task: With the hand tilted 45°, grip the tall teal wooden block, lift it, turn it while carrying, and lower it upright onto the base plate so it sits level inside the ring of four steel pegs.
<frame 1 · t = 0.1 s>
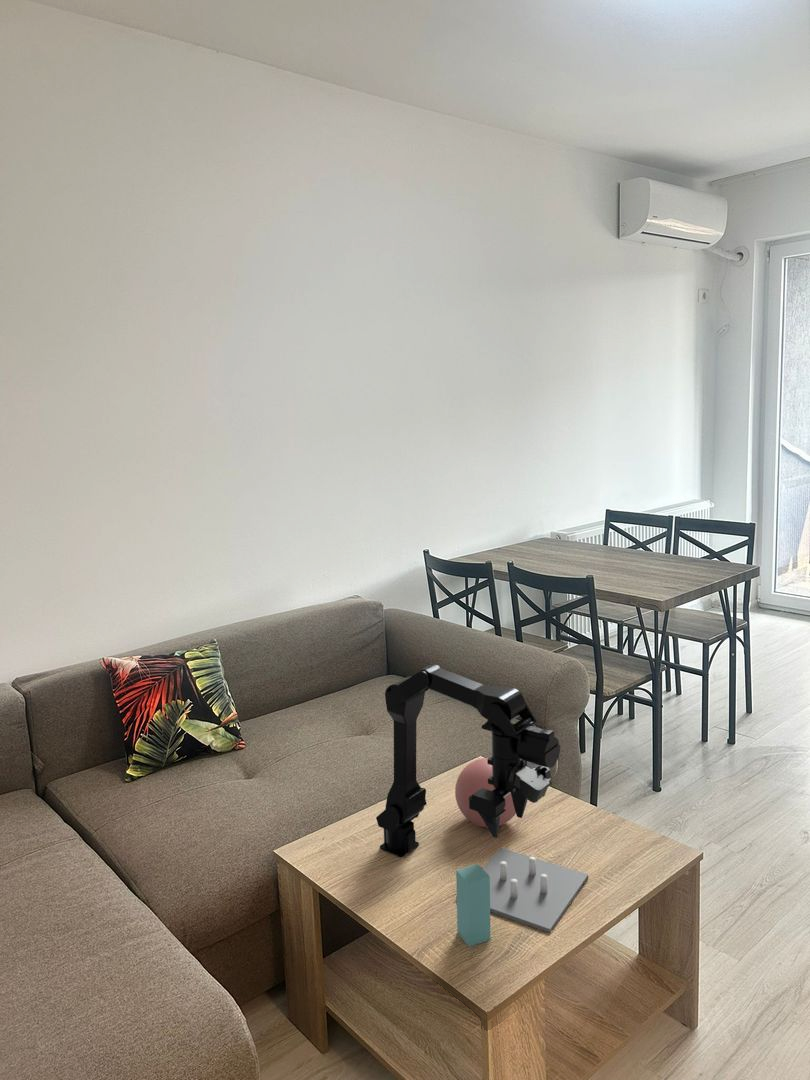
hand: (507, 827, 164), 15 cm above the table, tool pointing down, fingers open, 9 cm apart
balloon: (498, 822, 194), on the table
teal block: (473, 936, 154), on the table
peg plate: (523, 888, 168), on the table
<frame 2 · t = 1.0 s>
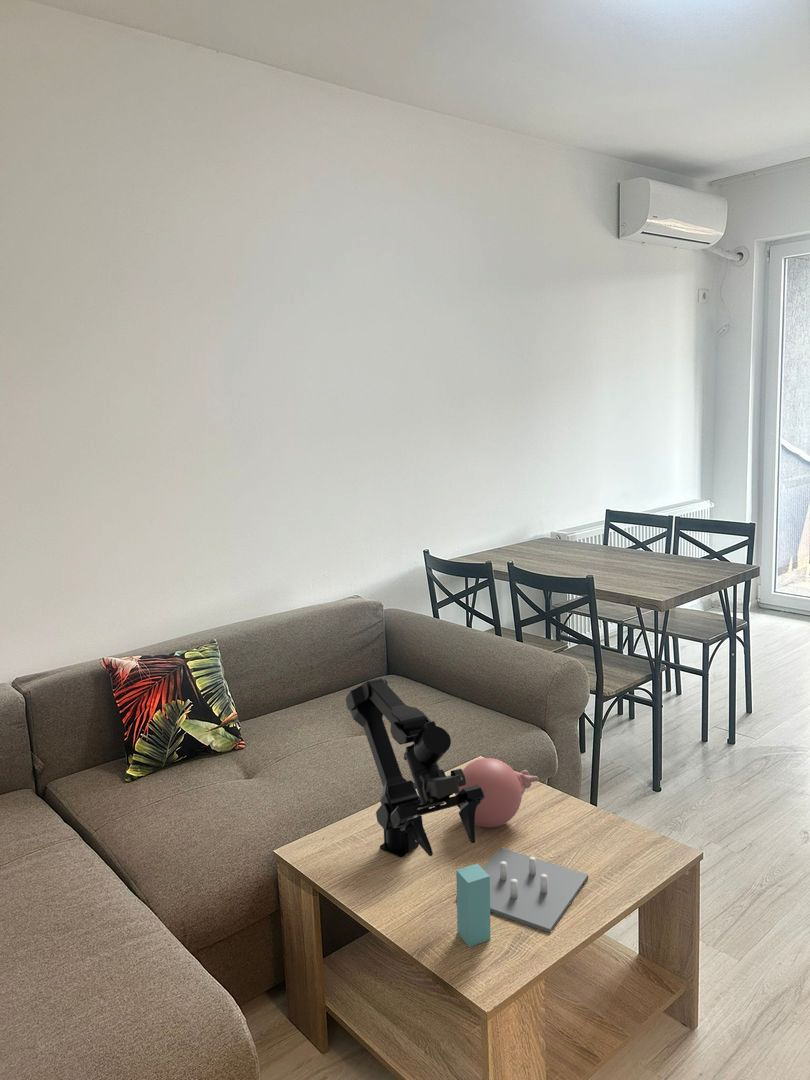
hand: (452, 849, 159), 13 cm above the table, tool tilted 45°, fingers open, 9 cm apart
nothing on the table moved.
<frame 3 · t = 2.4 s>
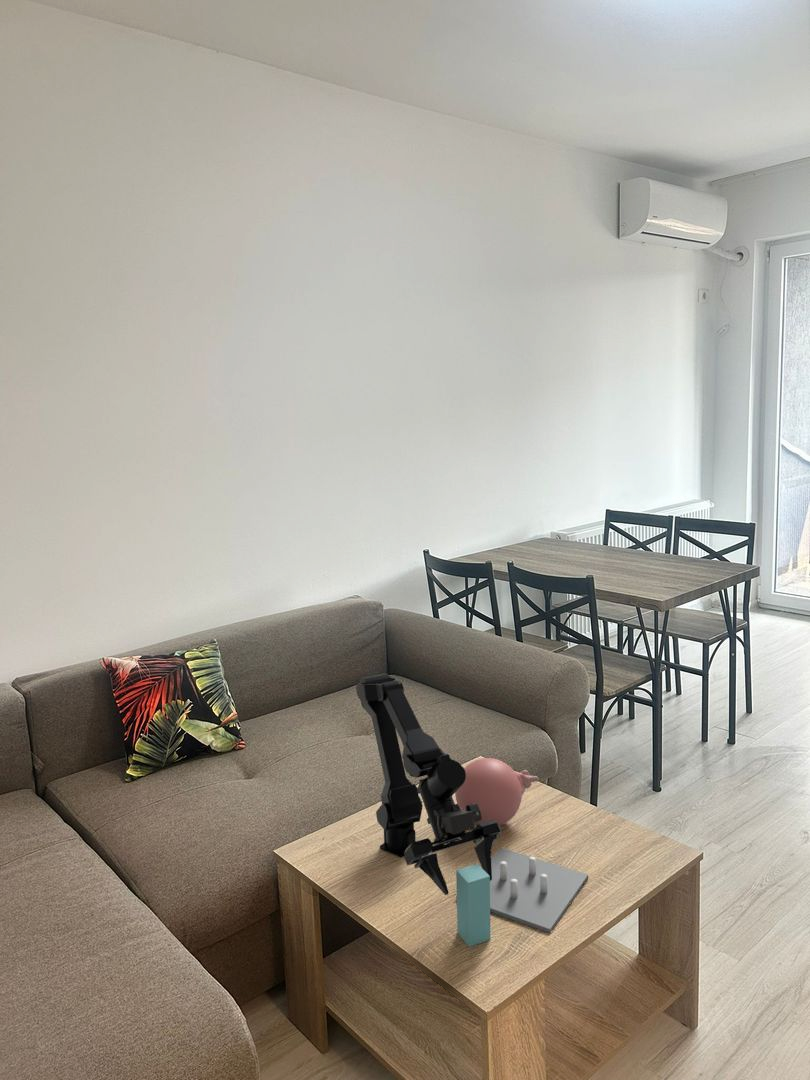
hand: (468, 887, 154), 9 cm above the table, tool tilted 45°, fingers open, 9 cm apart
nothing on the table moved.
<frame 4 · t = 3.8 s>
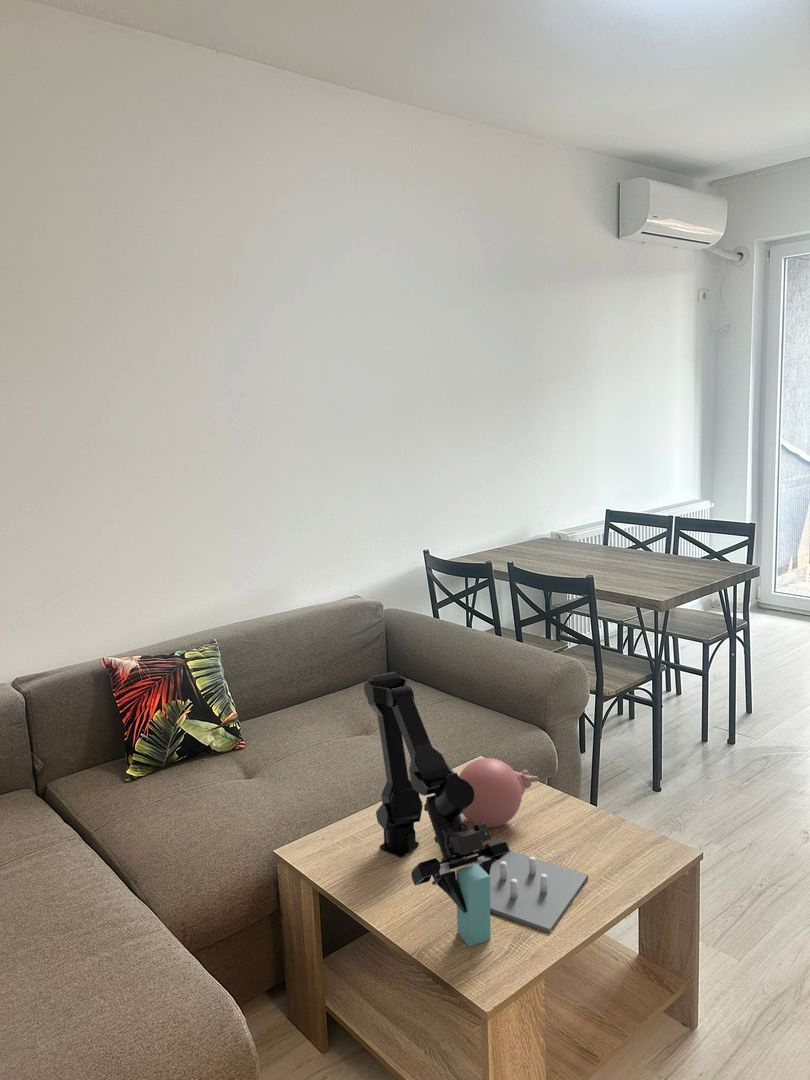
hand: (477, 908, 152), 7 cm above the table, tool tilted 45°, fingers closed on teal block, 4 cm apart
teal block: (473, 935, 154), on the table, touching gripper
everything else where it was.
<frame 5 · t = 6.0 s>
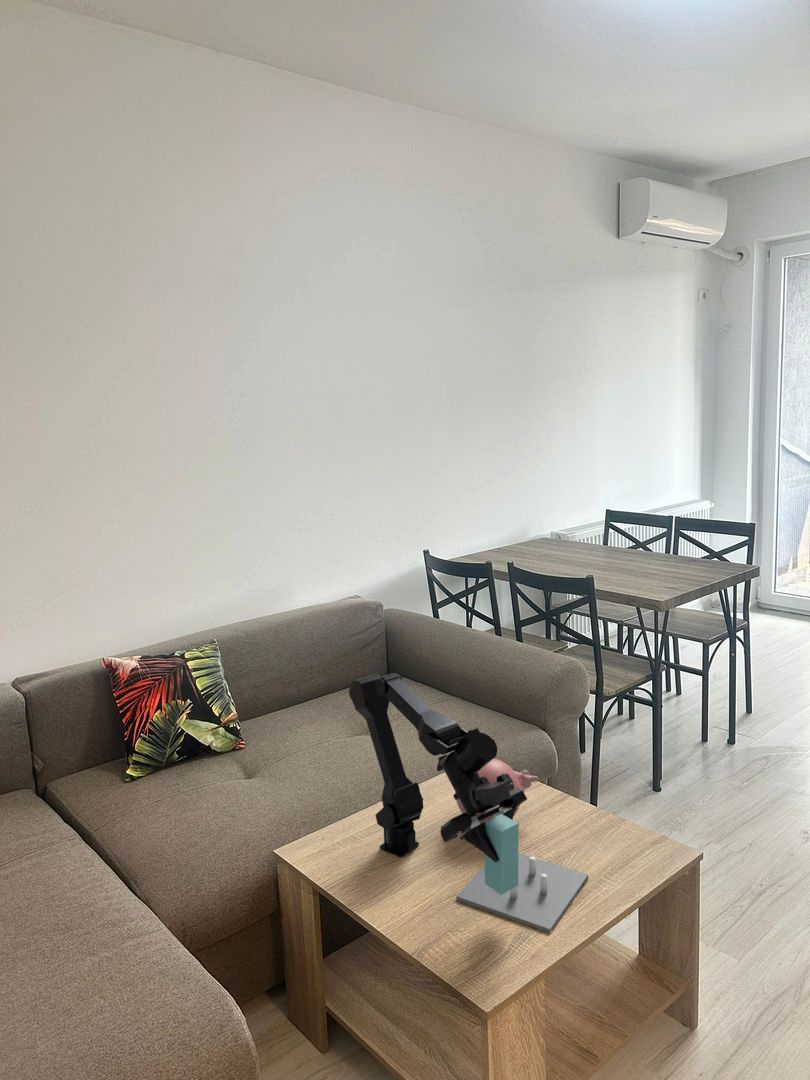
hand: (506, 856, 156), 13 cm above the table, tool tilted 45°, fingers closed on teal block, 4 cm apart
teal block: (501, 884, 158), point 7 cm above the table, touching gripper
everything else where it was.
when the fingers open (8 cm above the table, at t = 8.4 s): teal block drops 1 cm, resting on peg plate.
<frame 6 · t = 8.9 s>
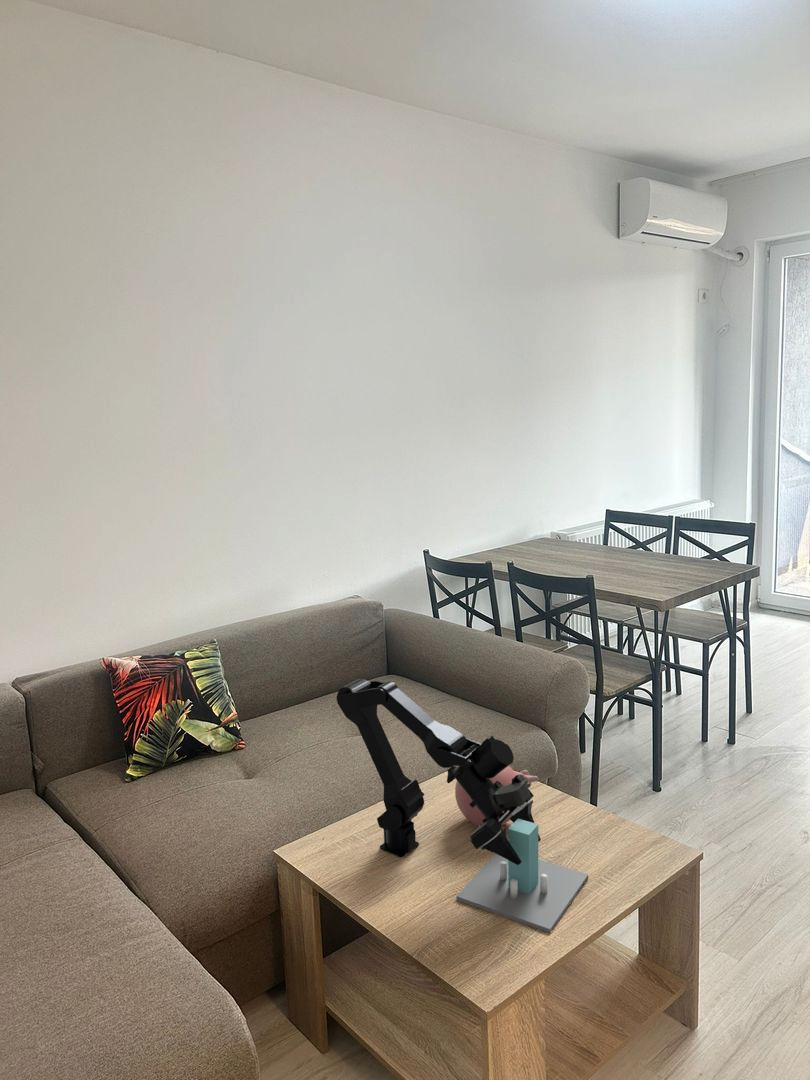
hand: (529, 852, 166), 9 cm above the table, tool tilted 45°, fingers open, 9 cm apart
teal block: (523, 885, 168), point 1 cm above the table, touching peg plate
everything else where it was.
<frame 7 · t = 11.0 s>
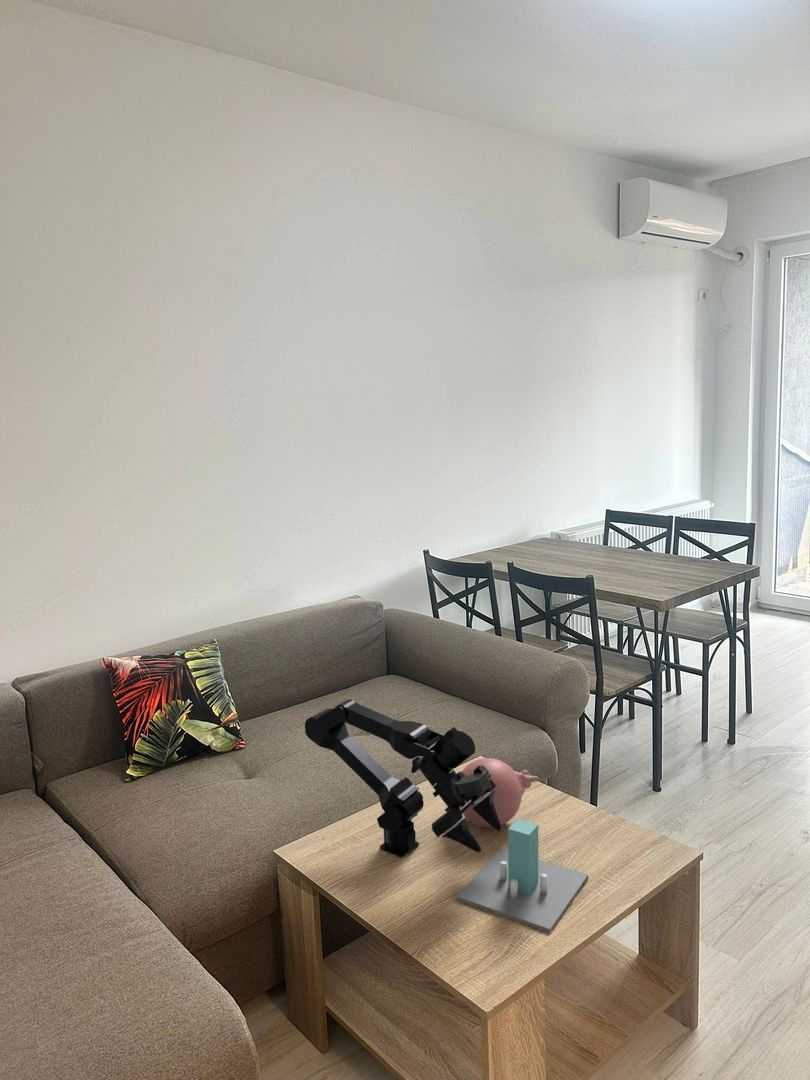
hand: (490, 840, 171), 8 cm above the table, tool tilted 45°, fingers open, 9 cm apart
nothing on the table moved.
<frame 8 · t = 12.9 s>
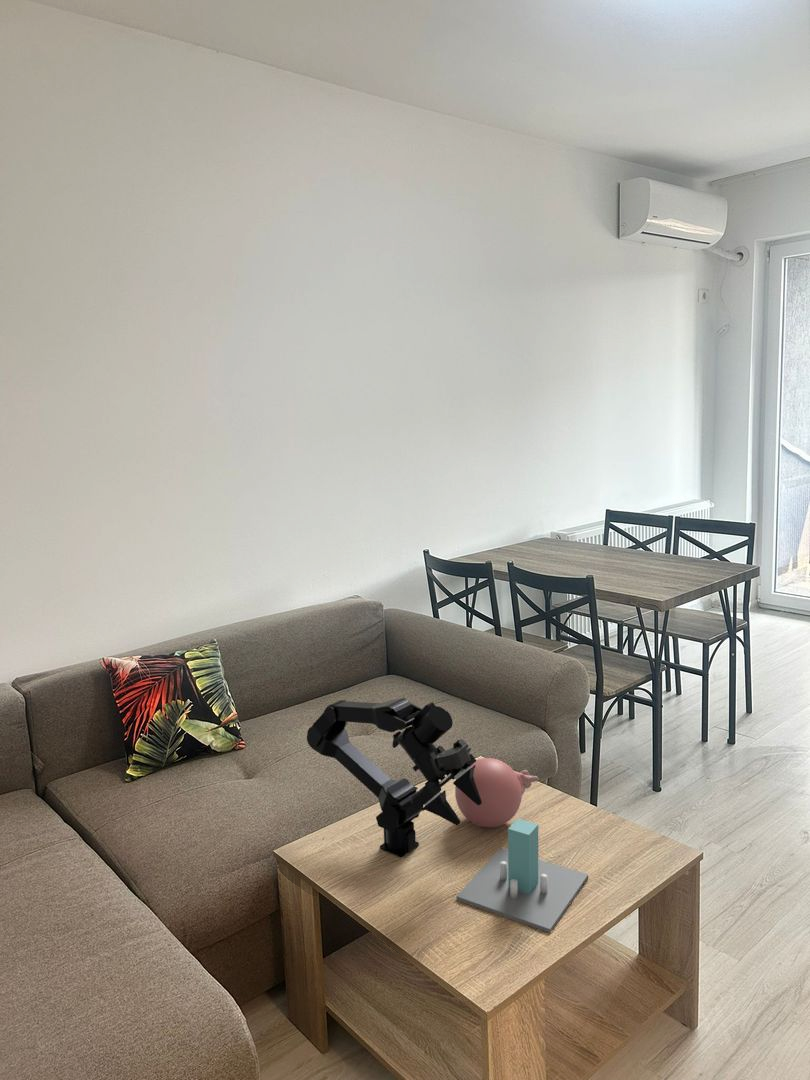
hand: (470, 813, 171), 14 cm above the table, tool tilted 45°, fingers open, 9 cm apart
nothing on the table moved.
at the end: teal block 0.0 cm off-centre on the peg plate, point 0.8 cm above the peg plate's base; teal block tilted 0°; the gripper is holding nothing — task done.
